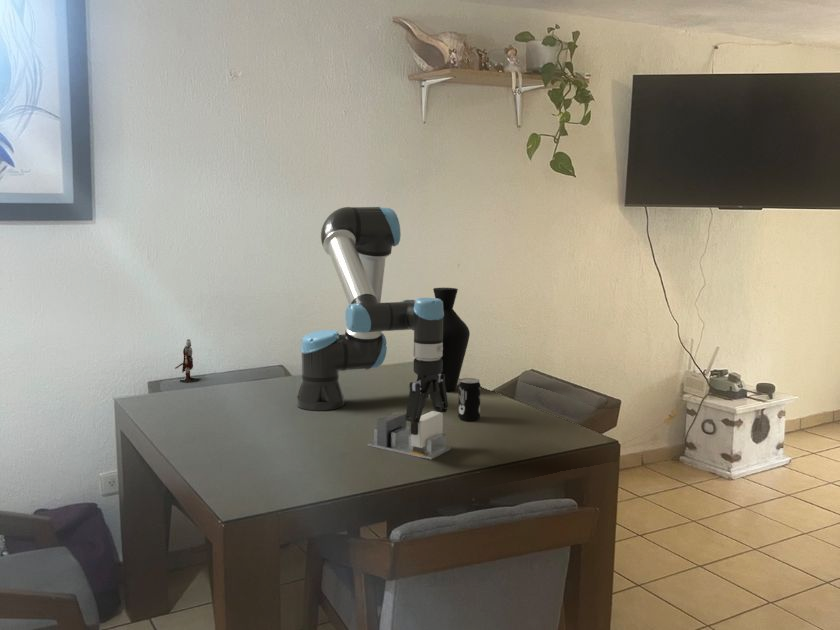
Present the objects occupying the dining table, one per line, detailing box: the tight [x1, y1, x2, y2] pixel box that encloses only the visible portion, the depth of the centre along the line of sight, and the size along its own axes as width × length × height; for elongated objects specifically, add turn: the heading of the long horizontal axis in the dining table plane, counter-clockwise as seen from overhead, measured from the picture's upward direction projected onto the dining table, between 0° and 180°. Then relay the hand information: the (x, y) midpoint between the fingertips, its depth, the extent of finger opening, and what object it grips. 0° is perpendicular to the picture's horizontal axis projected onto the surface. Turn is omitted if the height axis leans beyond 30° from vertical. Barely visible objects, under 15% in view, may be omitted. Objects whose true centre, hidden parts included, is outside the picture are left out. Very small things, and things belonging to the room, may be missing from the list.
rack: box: [367, 411, 452, 460], centre depth 212 cm, size 20×10×8 cm, turn 58°
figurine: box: [174, 339, 200, 384], centre depth 283 cm, size 7×7×15 cm
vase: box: [433, 287, 471, 393], centre depth 273 cm, size 17×17×35 cm
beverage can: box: [457, 377, 482, 422], centre depth 239 cm, size 7×7×12 cm
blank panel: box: [415, 410, 442, 448], centre depth 209 cm, size 3×10×7 cm, turn 148°
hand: (426, 440), depth 209 cm, fingers closed on blank panel, 10 cm apart
